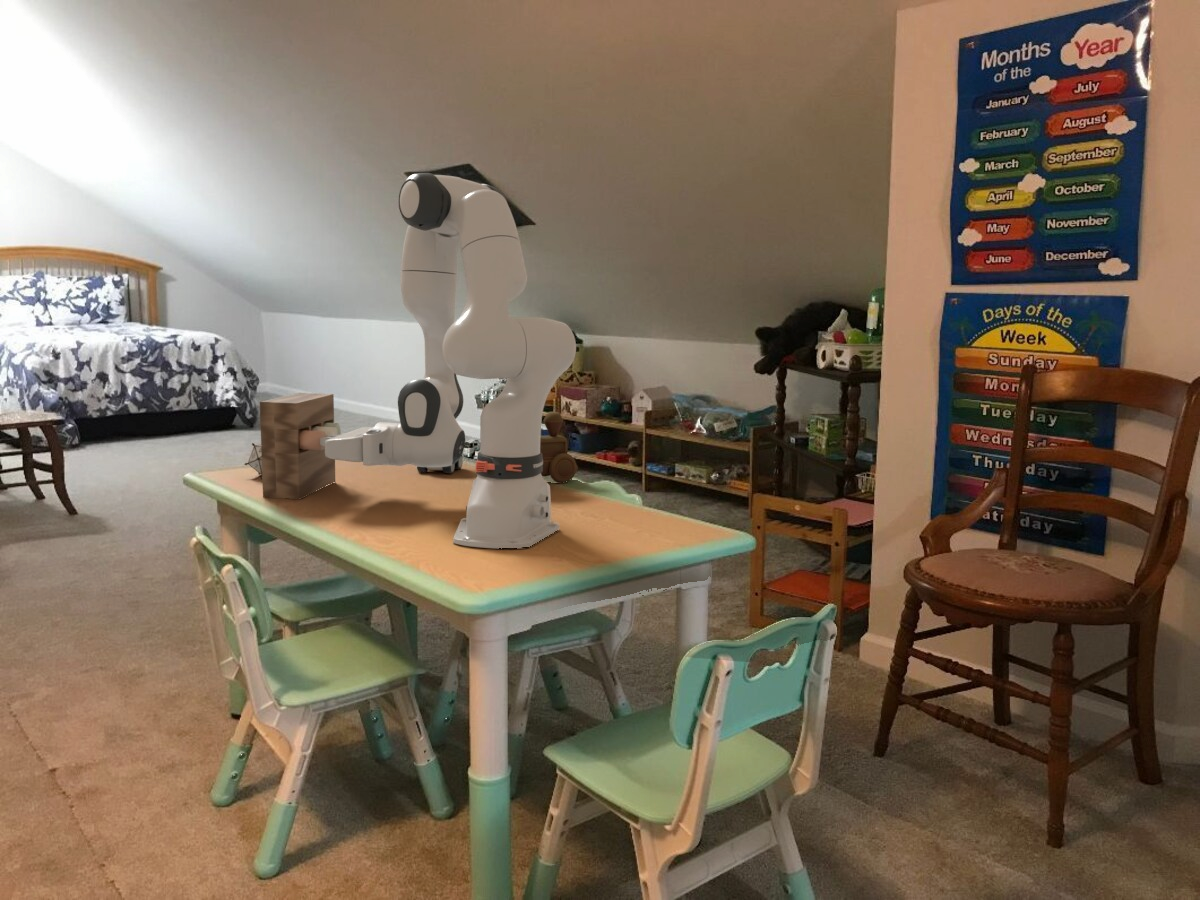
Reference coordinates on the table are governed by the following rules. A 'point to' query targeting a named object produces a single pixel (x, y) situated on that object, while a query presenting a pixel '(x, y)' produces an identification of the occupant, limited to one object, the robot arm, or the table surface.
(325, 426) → the sage button
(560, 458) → the wooden toy train
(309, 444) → the terracotta button
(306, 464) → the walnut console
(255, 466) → the game die
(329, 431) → the cream button
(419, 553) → the table surface
